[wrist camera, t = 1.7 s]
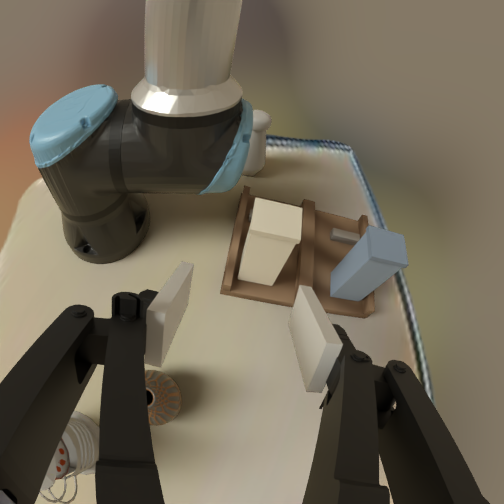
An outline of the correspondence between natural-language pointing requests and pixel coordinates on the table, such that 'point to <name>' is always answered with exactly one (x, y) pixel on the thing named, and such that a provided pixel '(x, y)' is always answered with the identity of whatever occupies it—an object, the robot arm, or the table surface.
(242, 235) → the wooden divided tray
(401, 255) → the blue-grey rectangular block
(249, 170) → the salt shaker
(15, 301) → the table surface
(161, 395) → the vase
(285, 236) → the cream tall block
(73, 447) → the french press
